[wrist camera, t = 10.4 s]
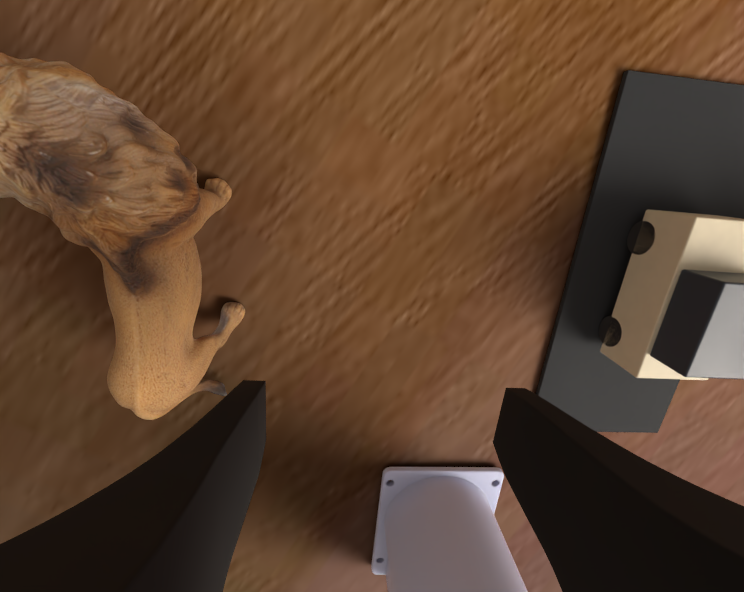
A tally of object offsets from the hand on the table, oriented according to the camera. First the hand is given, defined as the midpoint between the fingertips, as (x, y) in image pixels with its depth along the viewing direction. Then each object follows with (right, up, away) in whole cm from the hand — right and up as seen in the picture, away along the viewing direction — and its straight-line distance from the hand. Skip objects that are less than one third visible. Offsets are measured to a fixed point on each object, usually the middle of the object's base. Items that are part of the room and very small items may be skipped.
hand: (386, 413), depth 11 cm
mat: (+15, +4, +10) cm, 18 cm away
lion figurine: (-10, +6, +7) cm, 13 cm away
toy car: (+15, +4, +9) cm, 18 cm away
